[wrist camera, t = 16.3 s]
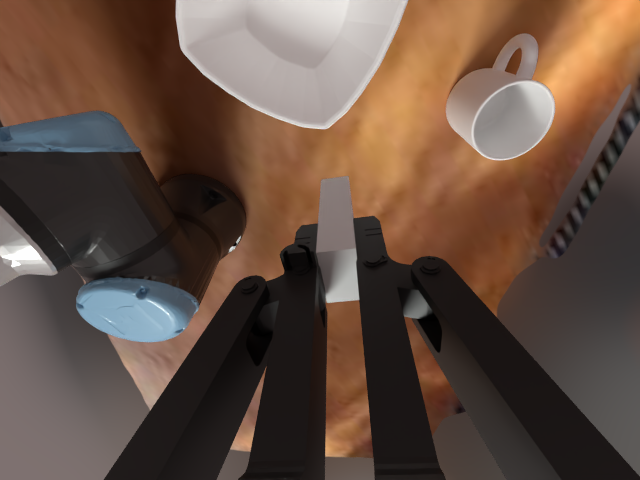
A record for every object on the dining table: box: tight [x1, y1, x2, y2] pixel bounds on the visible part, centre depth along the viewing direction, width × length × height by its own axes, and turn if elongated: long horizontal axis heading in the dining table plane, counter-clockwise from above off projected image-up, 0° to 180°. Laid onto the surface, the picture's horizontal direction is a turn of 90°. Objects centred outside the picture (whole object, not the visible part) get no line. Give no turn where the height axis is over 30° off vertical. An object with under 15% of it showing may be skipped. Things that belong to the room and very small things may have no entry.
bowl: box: [176, 0, 408, 129], centre depth 33 cm, size 21×21×9 cm
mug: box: [446, 33, 555, 160], centre depth 36 cm, size 12×8×10 cm
